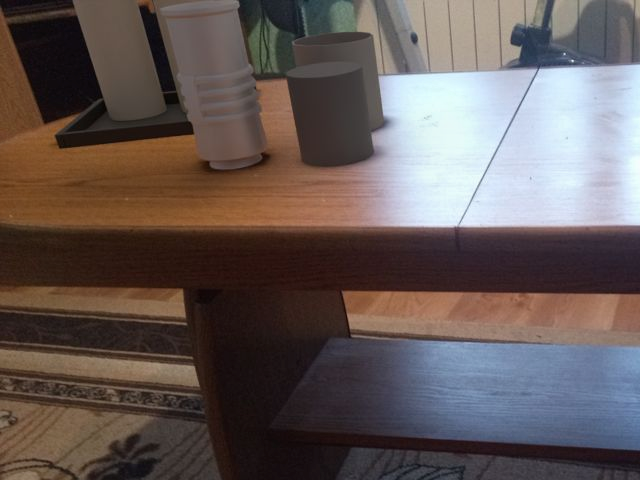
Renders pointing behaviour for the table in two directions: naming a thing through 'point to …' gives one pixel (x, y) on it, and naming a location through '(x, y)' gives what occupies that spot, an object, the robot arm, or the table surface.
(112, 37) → the ivory candle left
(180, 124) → the tray
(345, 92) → the grey candle
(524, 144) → the table surface
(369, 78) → the cup
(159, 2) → the ivory candle right
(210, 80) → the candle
